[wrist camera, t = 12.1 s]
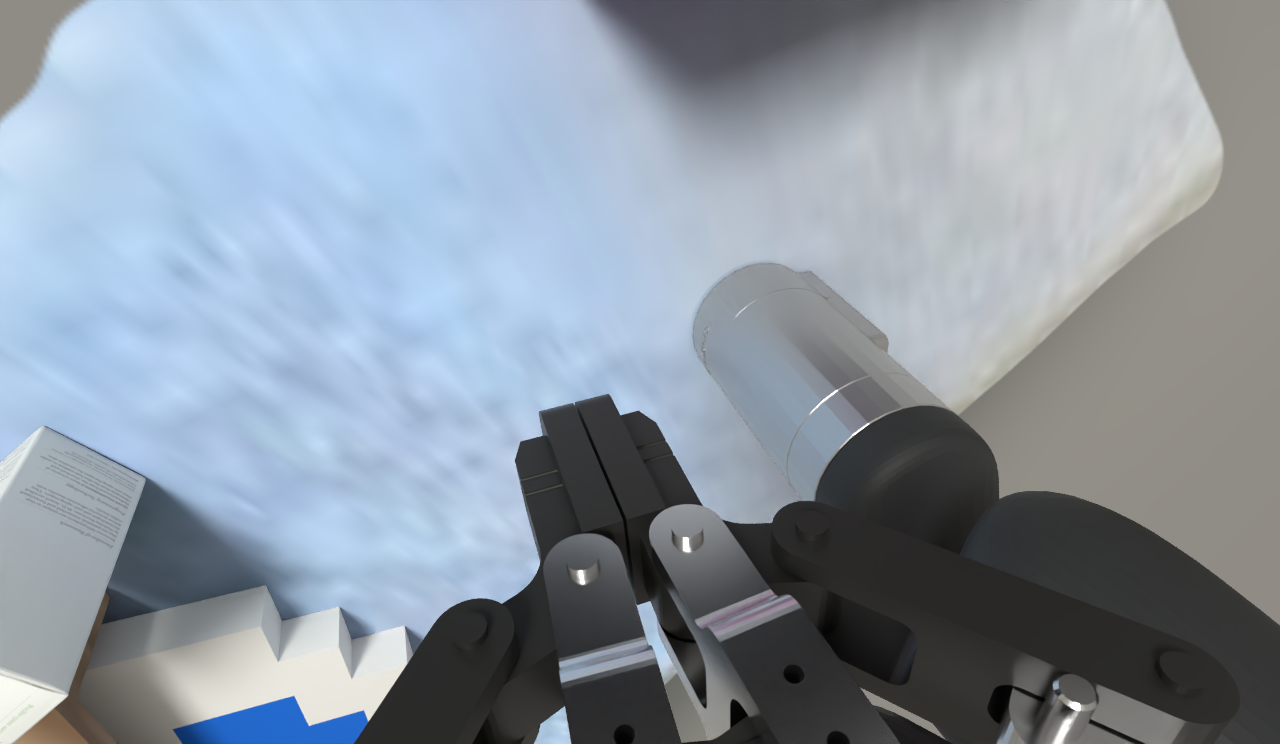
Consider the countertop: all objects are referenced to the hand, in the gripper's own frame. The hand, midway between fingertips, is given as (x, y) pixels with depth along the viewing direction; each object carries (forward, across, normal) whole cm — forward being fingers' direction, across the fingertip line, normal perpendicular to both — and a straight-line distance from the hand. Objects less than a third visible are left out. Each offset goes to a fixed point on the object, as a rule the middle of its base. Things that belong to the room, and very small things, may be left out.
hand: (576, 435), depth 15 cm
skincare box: (+29, +27, +18) cm, 44 cm away
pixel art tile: (+30, +26, +44) cm, 59 cm away
